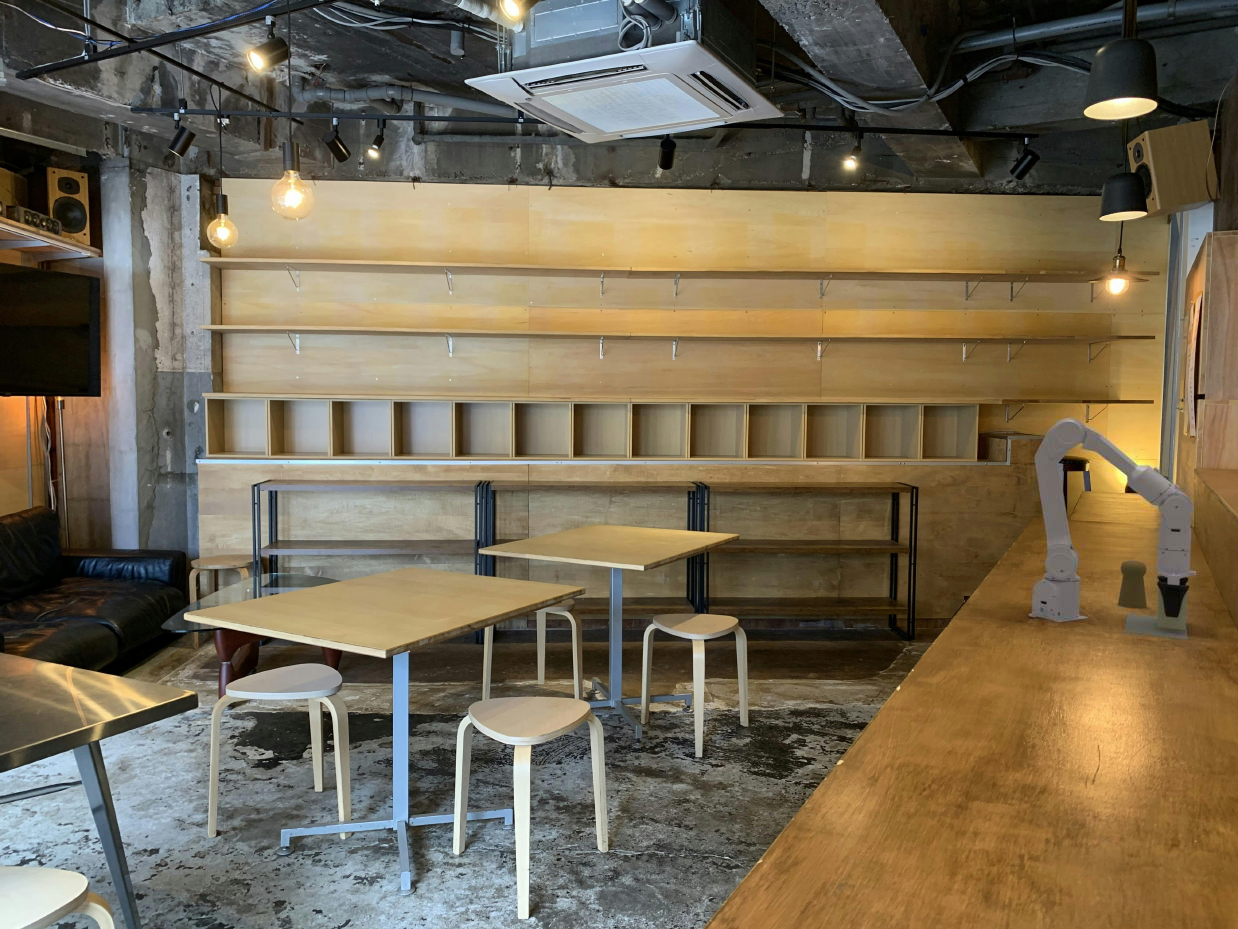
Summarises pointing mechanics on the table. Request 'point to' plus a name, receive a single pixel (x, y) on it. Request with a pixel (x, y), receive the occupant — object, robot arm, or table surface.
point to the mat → (1151, 627)
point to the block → (1171, 621)
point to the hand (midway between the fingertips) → (1171, 613)
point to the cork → (1133, 585)
